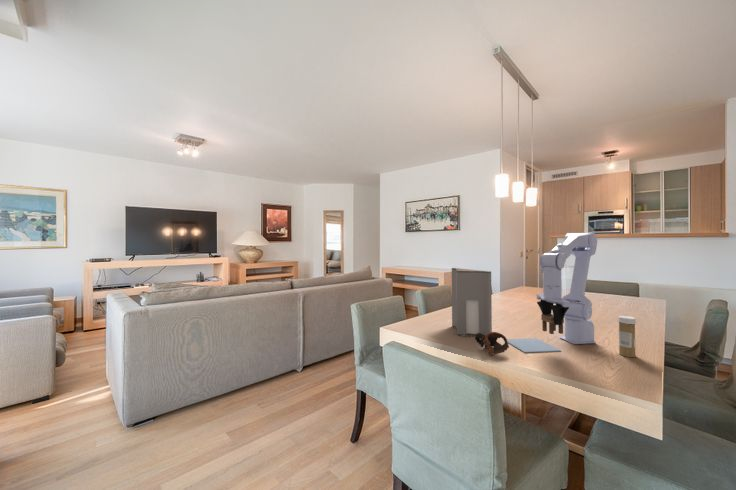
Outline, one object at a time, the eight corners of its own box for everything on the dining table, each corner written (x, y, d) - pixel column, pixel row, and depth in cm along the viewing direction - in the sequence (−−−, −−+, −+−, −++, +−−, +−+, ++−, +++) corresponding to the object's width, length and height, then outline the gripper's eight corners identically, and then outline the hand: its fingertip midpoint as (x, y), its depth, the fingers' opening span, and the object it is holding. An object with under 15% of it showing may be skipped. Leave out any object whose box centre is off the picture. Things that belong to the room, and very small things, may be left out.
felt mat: (536, 339, 122) (536, 338, 122) (561, 351, 109) (561, 350, 109) (503, 340, 121) (503, 339, 121) (524, 353, 107) (524, 351, 107)
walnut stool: (554, 329, 112) (553, 313, 112) (564, 333, 107) (563, 317, 107) (541, 330, 111) (541, 314, 111) (551, 334, 106) (550, 317, 106)
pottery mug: (508, 350, 111) (512, 335, 107) (501, 369, 105) (505, 353, 101) (476, 337, 118) (479, 322, 113) (468, 354, 111) (470, 338, 107)
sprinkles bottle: (639, 356, 103) (639, 318, 102) (629, 358, 102) (628, 319, 101) (625, 352, 107) (625, 315, 107) (615, 353, 106) (615, 315, 106)
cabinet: (491, 338, 125) (491, 271, 124) (476, 342, 120) (475, 272, 119) (454, 326, 143) (454, 267, 142) (439, 329, 138) (438, 269, 138)
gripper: (529, 283, 116) (529, 318, 116) (556, 289, 101) (556, 328, 101) (546, 282, 116) (546, 317, 117) (575, 288, 102) (575, 327, 102)
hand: (552, 322), depth 109 cm, fingers closed on walnut stool, 5 cm apart
